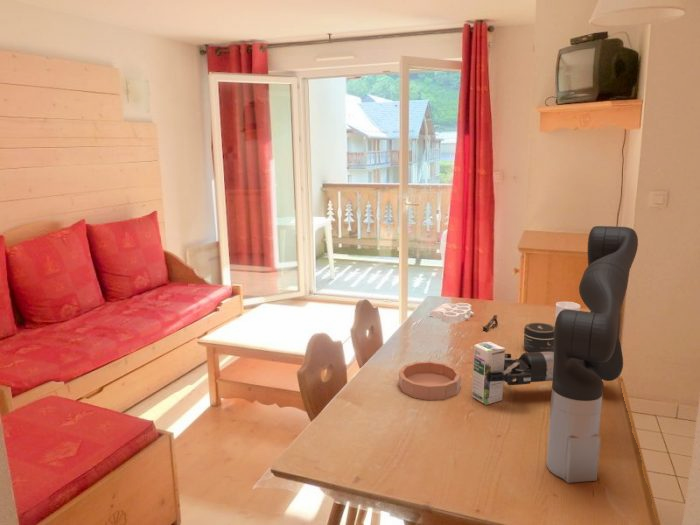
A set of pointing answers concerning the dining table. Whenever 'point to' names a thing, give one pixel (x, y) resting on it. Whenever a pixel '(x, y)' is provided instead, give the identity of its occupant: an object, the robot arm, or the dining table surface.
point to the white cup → (566, 307)
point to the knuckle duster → (452, 312)
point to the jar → (539, 337)
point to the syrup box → (485, 361)
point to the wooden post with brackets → (491, 323)
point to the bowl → (429, 380)
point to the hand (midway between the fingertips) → (481, 370)
